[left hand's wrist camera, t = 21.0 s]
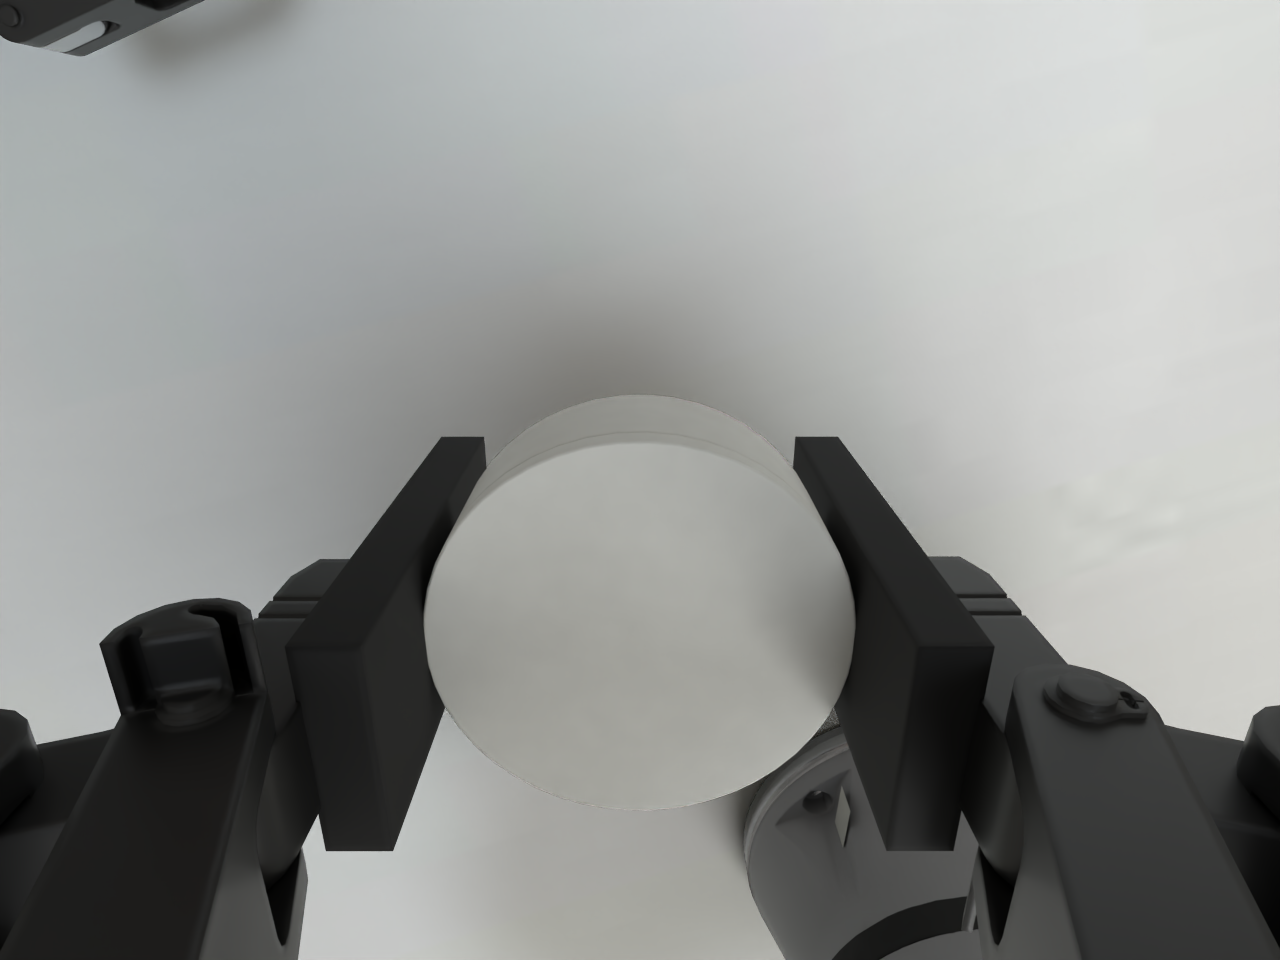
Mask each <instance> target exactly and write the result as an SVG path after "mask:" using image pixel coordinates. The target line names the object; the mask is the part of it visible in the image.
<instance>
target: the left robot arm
mask: <svg viewBox="0 0 1280 960" xmlns="http://www.w3.org/2000/svg"><path fill="white" fill-rule="evenodd" d="M793 469H794V471H795V472H796V473H797V475H798V477H799V478H800V480H801V482H802V484H803V485H804V487H805V489H806V490H807V492H808V494H809V496H810V498H811V500H812V502H813V504H814V505H815V507H816V509H817V511H818V513H819V515H820V517H821V519H822V521H823V523H824V525H825V526H826V528H827V530H828V532H829V534H830V536H831V538H832V540H833V542H834V544H835V546H836V547H837V549H838V551H839V553H840V556H841V558H842V561H843V563H844V566H845V568H846V571H847V573H848V576H849V579H850V584H851V588H852V592H853V597H854V601H855V615H856V629H855V637H854V646H853V654H852V661H851V665H850V670H849V674H848V677H847V679H846V682H845V684H844V687H843V689H842V692H841V694H840V696H839V698H838V700H837V702H836V704H835V705H834V708H835V711H836V713H837V716H838V719H839V722H840V724H841V726H840V727H838V728H835V729H832V730H830V731H828V732H826V733H824V734H822V735H820V736H818V737H816V738H814V739H813V740H811V741H809V742H808V743H806V744H805V745H804V746H803V747H802V748H801V749H800V750H799V751H798V752H797V753H796V754H795V755H794V756H792V757H791V758H790V759H789V760H787V761H786V762H785V763H783V764H782V765H781V766H780V767H778V768H777V769H776V770H774V771H772V773H771V774H770V775H769V776H768V778H767V779H766V780H765V781H764V783H763V784H762V786H761V787H760V789H759V790H758V792H757V794H756V796H755V798H754V800H753V802H752V804H751V806H750V809H749V812H748V815H747V818H746V823H745V827H744V837H743V842H744V854H745V861H746V867H747V874H748V880H749V886H750V889H751V893H752V896H753V898H754V901H755V903H756V905H757V907H758V910H759V912H760V914H761V916H762V918H763V920H764V922H765V923H766V925H767V927H768V929H769V931H770V932H771V934H772V936H773V938H774V940H775V941H776V943H777V945H778V947H779V949H780V950H781V952H782V954H783V956H784V958H785V959H786V960H1280V705H1279V706H1270V707H1265V708H1264V709H1262V710H1261V711H1259V712H1258V713H1257V714H1255V715H1254V716H1253V718H1252V721H1251V724H1250V727H1249V729H1248V732H1247V735H1246V738H1245V740H1244V741H1240V740H1235V739H1230V738H1225V737H1220V736H1215V735H1210V734H1204V733H1199V732H1194V731H1189V730H1184V729H1179V728H1175V727H1171V726H1167V725H1164V723H1163V721H1162V719H1161V717H1160V715H1159V713H1158V712H1157V711H1156V710H1155V709H1154V707H1153V706H1152V705H1151V704H1150V702H1149V701H1148V700H1147V699H1146V698H1145V697H1144V696H1142V695H1141V694H1140V693H1138V692H1137V691H1135V690H1134V689H1132V688H1131V687H1129V686H1128V685H1126V684H1125V683H1123V682H1121V681H1119V680H1116V679H1114V678H1112V677H1109V676H1107V675H1105V674H1103V673H1100V672H1098V671H1094V670H1090V669H1086V668H1082V667H1078V666H1074V665H1068V664H1067V663H1066V662H1065V661H1064V659H1063V658H1062V657H1061V656H1060V655H1059V654H1058V653H1057V651H1056V650H1055V649H1054V648H1053V647H1052V646H1051V645H1050V643H1049V642H1048V641H1047V640H1046V639H1045V638H1044V636H1043V635H1042V634H1041V633H1040V632H1039V631H1038V630H1037V628H1036V627H1035V626H1034V625H1033V624H1032V623H1031V622H1030V620H1029V619H1028V618H1027V617H1026V616H1022V614H1021V610H1020V609H1019V608H1018V607H1017V605H1016V604H1015V603H1014V602H1013V601H1012V600H1011V599H1010V598H1007V594H1006V593H1005V592H1004V591H1003V589H1002V588H1001V587H1000V586H999V585H998V584H997V582H996V581H995V580H994V579H993V578H992V577H991V576H990V574H988V573H987V572H985V571H983V570H982V569H980V568H978V567H976V566H975V565H973V564H971V563H970V562H968V561H966V560H965V559H963V558H961V557H927V555H926V554H925V553H924V551H923V550H922V548H921V547H920V546H919V544H918V543H917V542H916V540H915V539H914V538H913V536H912V535H911V534H910V532H909V531H908V530H907V528H906V527H905V526H904V524H903V523H902V522H901V520H900V519H899V518H898V516H897V515H896V514H895V512H894V511H893V510H892V508H891V507H890V506H889V504H888V503H887V502H886V500H885V499H884V498H883V496H882V495H881V494H880V492H879V491H878V490H877V488H876V487H875V486H874V484H873V483H872V482H871V480H870V479H869V478H868V476H867V475H866V474H865V472H864V471H863V470H862V468H861V467H860V466H859V464H858V463H857V462H856V460H855V459H854V458H853V456H852V455H851V454H850V452H849V451H848V450H847V448H846V447H845V446H844V444H843V443H842V442H841V440H840V439H839V438H838V437H796V438H795V451H794V463H793ZM485 470H486V457H485V444H484V437H441V438H440V440H439V441H438V442H437V444H436V445H435V446H434V448H433V449H432V450H431V452H430V453H429V454H428V456H427V457H426V458H425V460H424V461H423V462H422V464H421V465H420V466H419V468H418V469H417V470H416V472H415V473H414V474H413V476H412V477H411V478H410V480H409V481H408V482H407V484H406V485H405V486H404V488H403V489H402V490H401V492H400V493H399V494H398V496H397V497H396V498H395V500H394V501H393V502H392V504H391V505H390V506H389V508H388V509H387V510H386V512H385V513H384V514H383V516H382V517H381V518H380V520H379V521H378V522H377V524H376V525H375V526H374V528H373V529H372V530H371V532H370V533H369V534H368V536H367V537H366V538H365V540H364V541H363V542H362V544H361V545H360V546H359V548H358V549H357V550H356V552H355V553H354V554H353V556H352V557H351V558H350V559H320V560H318V561H316V562H315V563H313V564H311V565H310V566H308V567H306V568H305V569H303V570H301V571H300V572H298V573H296V574H294V575H293V576H291V577H290V578H289V579H288V581H287V582H286V583H285V584H284V585H283V586H282V587H281V589H280V590H279V591H278V592H277V593H276V594H275V596H274V597H273V601H269V603H268V604H267V605H266V606H265V607H264V608H263V609H262V611H261V612H260V613H259V617H258V618H255V619H254V620H253V619H252V614H251V610H249V609H248V608H247V607H245V606H244V605H243V604H241V603H240V602H237V601H232V600H227V599H221V598H209V599H192V600H187V601H182V602H178V603H173V604H168V605H164V606H161V607H159V608H156V609H153V610H151V611H148V612H145V613H142V614H140V615H137V616H135V617H134V618H132V619H130V620H129V621H127V622H125V623H123V624H122V625H120V626H118V627H116V628H115V629H114V630H113V631H112V632H111V633H110V634H109V635H108V636H107V637H106V638H105V639H104V640H103V641H102V642H101V643H100V644H99V645H100V648H101V651H102V654H103V658H104V661H105V664H106V667H107V671H108V674H109V677H110V680H111V684H112V687H113V690H114V693H115V697H116V700H117V703H118V706H119V710H120V713H121V716H120V718H119V720H118V722H117V724H116V726H115V728H114V729H111V730H107V731H103V732H98V733H93V734H88V735H83V736H78V737H73V738H68V739H63V740H58V741H53V742H48V743H43V744H38V745H36V742H35V740H34V737H33V734H32V731H31V729H30V726H29V723H28V720H27V719H26V718H24V717H23V716H22V715H20V714H19V713H18V712H16V711H13V710H5V709H0V960H298V954H299V946H300V938H301V931H302V923H303V915H304V907H305V900H306V892H307V884H308V877H307V870H306V863H305V858H304V854H303V849H302V845H303V843H304V841H305V839H306V837H307V835H308V833H309V831H310V829H311V827H312V825H313V823H314V821H315V819H316V817H317V815H318V814H319V819H320V824H321V829H322V834H323V839H324V844H325V849H326V851H393V850H394V847H395V844H396V841H397V839H398V836H399V833H400V830H401V828H402V825H403V822H404V819H405V817H406V814H407V811H408V808H409V806H410V803H411V800H412V797H413V795H414V792H415V789H416V786H417V784H418V781H419V778H420V775H421V773H422V770H423V767H424V764H425V762H426V759H427V756H428V753H429V751H430V748H431V745H432V742H433V740H434V737H435V734H436V731H437V729H438V726H439V723H440V720H441V718H442V715H443V712H444V709H445V706H444V704H443V702H442V699H441V697H440V695H439V693H438V691H437V689H436V687H435V685H434V682H433V678H432V675H431V672H430V669H429V665H428V658H427V650H426V642H425V633H424V622H423V611H424V605H425V598H426V591H427V587H428V584H429V580H430V577H431V574H432V571H433V568H434V564H435V562H436V560H437V558H438V556H439V554H440V552H441V550H442V548H443V546H444V544H445V542H446V540H447V538H448V536H449V534H450V533H451V531H452V529H453V527H454V525H455V523H456V521H457V519H458V517H459V516H460V514H461V512H462V510H463V508H464V506H465V504H466V502H467V500H468V498H469V497H470V495H471V493H472V491H473V489H474V487H475V485H476V483H477V481H478V480H479V479H480V477H481V476H482V474H483V473H484V471H485Z"/></svg>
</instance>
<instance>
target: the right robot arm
mask: <svg viewBox="0 0 1280 960" xmlns="http://www.w3.org/2000/svg"><path fill="white" fill-rule="evenodd" d="M202 1H204V0H0V35H1V36H2V37H3V38H5V39H7V40H9V41H11V42H15V43H20V44H24V45H29V46H34V47H38V48H43V49H47V50H52V51H56V52H61V53H66V54H70V55H75V56H85V55H88V54H90V53H92V52H94V51H96V50H99V49H101V48H103V47H105V46H107V45H109V44H112V43H114V42H116V41H118V40H120V39H122V38H124V37H127V36H129V35H131V34H133V33H135V32H137V31H139V30H142V29H144V28H146V27H148V26H150V25H152V24H155V23H157V22H159V21H161V20H163V19H165V18H167V17H170V16H172V15H174V14H176V13H178V12H180V11H182V10H185V9H187V8H189V7H191V6H193V5H195V4H197V3H200V2H202Z"/></svg>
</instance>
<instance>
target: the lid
mask: <svg viewBox="0 0 1280 960" xmlns="http://www.w3.org/2000/svg"><path fill="white" fill-rule="evenodd" d="M423 622H424V633H425V642H426V650H427V658H428V665H429V669H430V672H431V675H432V678H433V682H434V685H435V687H436V689H437V691H438V693H439V695H440V697H441V699H442V702H443V704H444V706H445V708H446V709H447V711H448V712H449V714H450V715H451V717H452V718H453V720H454V721H455V723H456V724H457V726H458V727H459V728H460V729H461V731H462V732H463V733H464V734H465V735H466V736H467V737H468V739H469V740H470V741H471V742H472V743H473V744H474V745H475V746H476V747H477V748H478V749H479V750H480V751H481V752H483V753H484V754H485V755H486V756H487V757H488V758H489V759H490V760H491V761H493V762H494V763H495V764H497V765H498V766H500V767H501V768H503V769H504V770H505V771H507V772H508V773H510V774H511V775H513V776H514V777H516V778H518V779H520V780H522V781H524V782H525V783H527V784H529V785H531V786H533V787H535V788H537V789H540V790H542V791H544V792H547V793H549V794H552V795H554V796H557V797H560V798H563V799H567V800H570V801H573V802H577V803H580V804H585V805H590V806H596V807H601V808H607V809H619V810H632V811H636V810H662V809H670V808H678V807H685V806H689V805H694V804H698V803H702V802H707V801H710V800H713V799H716V798H719V797H722V796H725V795H728V794H730V793H733V792H735V791H737V790H739V789H742V788H744V787H746V786H748V785H750V784H752V783H754V782H756V781H758V780H759V779H761V778H763V777H764V776H766V775H768V774H769V773H771V772H772V771H774V770H776V769H777V768H778V767H780V766H781V765H782V764H783V763H785V762H786V761H787V760H789V759H790V758H791V757H792V756H794V755H795V754H796V753H797V752H798V751H799V750H800V749H801V748H802V747H803V746H804V745H805V744H806V743H807V742H808V741H809V740H810V739H811V738H812V737H813V736H814V734H815V733H816V732H817V731H818V729H819V728H820V727H821V725H822V724H823V723H824V721H825V720H826V719H827V717H828V716H829V714H830V712H831V711H832V709H833V707H834V705H835V704H836V702H837V700H838V698H839V696H840V694H841V692H842V689H843V687H844V684H845V682H846V679H847V677H848V674H849V670H850V665H851V661H852V654H853V646H854V637H855V629H856V615H855V601H854V597H853V592H852V588H851V584H850V579H849V576H848V573H847V571H846V568H845V566H844V563H843V561H842V558H841V556H840V553H839V551H838V549H837V547H836V546H835V544H834V542H833V540H832V538H831V536H830V534H829V532H828V530H827V528H826V526H825V525H824V523H823V521H822V519H821V517H820V515H819V513H818V511H817V509H816V507H815V505H814V504H813V502H812V500H811V498H810V496H809V494H808V492H807V490H806V489H805V487H804V485H803V484H802V482H801V480H800V478H799V477H798V475H797V473H796V472H795V471H794V469H793V468H792V467H791V465H790V464H789V463H788V462H787V460H786V459H785V458H784V457H783V455H782V454H781V453H780V452H779V451H778V450H777V449H776V448H774V447H773V446H772V445H771V444H770V443H769V442H768V441H767V440H766V439H765V438H764V437H762V436H761V435H760V434H758V433H757V432H755V431H754V430H753V429H751V428H750V427H748V426H747V425H746V424H744V423H743V422H741V421H739V420H737V419H735V418H733V417H731V416H729V415H727V414H725V413H724V412H722V411H719V410H716V409H714V408H711V407H708V406H705V405H703V404H700V403H697V402H693V401H688V400H684V399H680V398H675V397H669V396H658V395H648V394H642V395H618V396H612V397H605V398H599V399H594V400H590V401H587V402H583V403H580V404H577V405H573V406H570V407H568V408H565V409H563V410H561V411H559V412H556V413H554V414H552V415H549V416H547V417H545V418H544V419H542V420H541V421H539V422H537V423H536V424H534V425H532V426H531V427H529V428H527V429H526V430H525V431H523V432H522V433H521V434H520V435H518V436H517V437H516V438H515V439H513V440H512V441H511V442H510V443H509V444H507V445H506V446H505V447H504V448H503V450H502V451H501V452H500V453H499V454H498V455H497V456H496V457H495V458H494V459H493V460H492V461H491V463H490V464H489V465H488V467H487V468H486V470H485V471H484V473H483V474H482V476H481V477H480V479H479V480H478V481H477V483H476V485H475V487H474V489H473V491H472V493H471V495H470V497H469V498H468V500H467V502H466V504H465V506H464V508H463V510H462V512H461V514H460V516H459V517H458V519H457V521H456V523H455V525H454V527H453V529H452V531H451V533H450V534H449V536H448V538H447V540H446V542H445V544H444V546H443V548H442V550H441V552H440V554H439V556H438V558H437V560H436V562H435V564H434V568H433V571H432V574H431V577H430V580H429V584H428V587H427V591H426V598H425V605H424V611H423Z"/></svg>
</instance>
